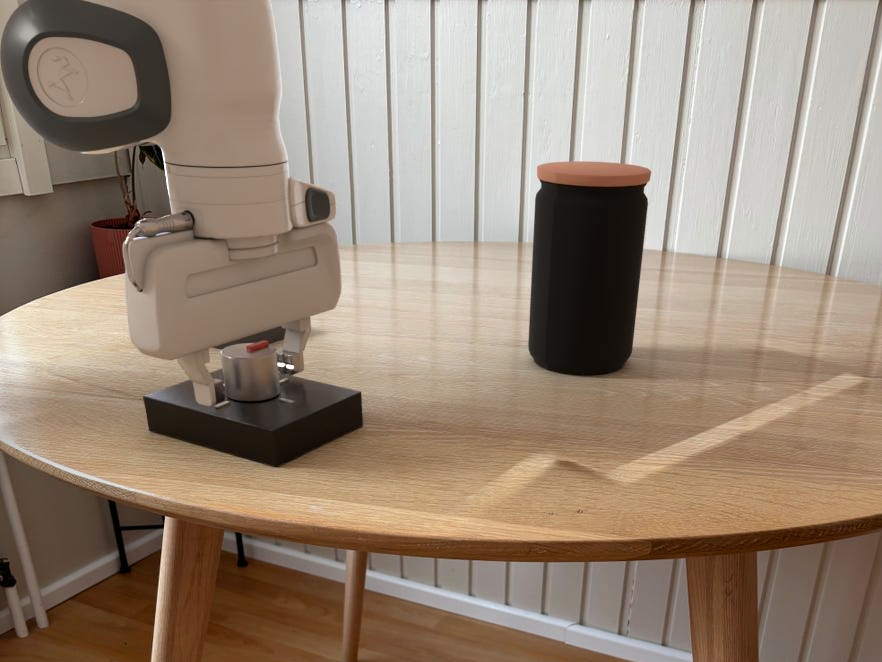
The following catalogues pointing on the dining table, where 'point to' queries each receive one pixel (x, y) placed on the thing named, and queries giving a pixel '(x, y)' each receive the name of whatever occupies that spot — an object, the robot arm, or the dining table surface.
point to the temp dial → (250, 371)
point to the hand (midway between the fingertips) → (252, 387)
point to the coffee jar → (586, 265)
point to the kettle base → (259, 337)
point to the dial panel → (258, 419)
